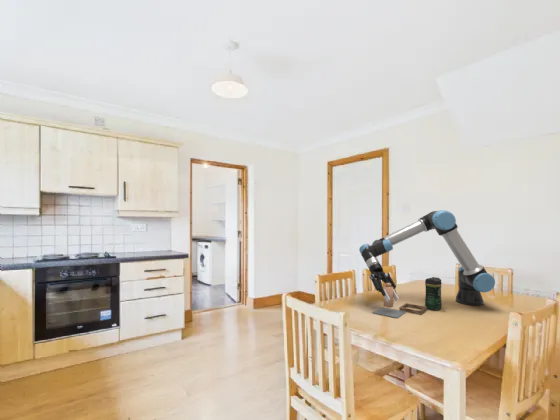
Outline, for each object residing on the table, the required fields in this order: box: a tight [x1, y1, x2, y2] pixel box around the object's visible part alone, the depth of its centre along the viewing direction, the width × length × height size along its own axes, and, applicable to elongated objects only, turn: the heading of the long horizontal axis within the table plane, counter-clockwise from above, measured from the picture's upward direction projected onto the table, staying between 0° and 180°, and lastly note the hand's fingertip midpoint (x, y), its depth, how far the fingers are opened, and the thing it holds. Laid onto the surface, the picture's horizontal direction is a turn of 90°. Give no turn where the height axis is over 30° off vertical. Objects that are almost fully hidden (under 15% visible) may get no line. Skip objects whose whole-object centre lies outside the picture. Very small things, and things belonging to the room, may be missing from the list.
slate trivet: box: [372, 306, 407, 319], centre depth 173 cm, size 14×14×1 cm
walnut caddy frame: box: [398, 302, 428, 316], centre depth 178 cm, size 12×12×2 cm
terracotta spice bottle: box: [383, 283, 394, 308], centre depth 173 cm, size 5×5×13 cm
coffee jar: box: [424, 276, 443, 311], centre depth 182 cm, size 10×8×19 cm
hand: (392, 300), depth 170 cm, fingers closed on terracotta spice bottle, 5 cm apart
